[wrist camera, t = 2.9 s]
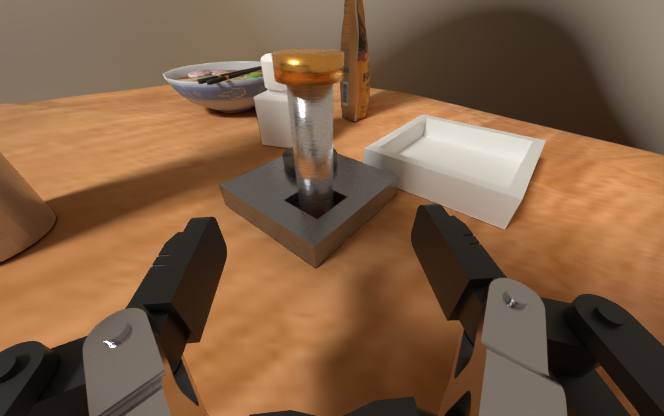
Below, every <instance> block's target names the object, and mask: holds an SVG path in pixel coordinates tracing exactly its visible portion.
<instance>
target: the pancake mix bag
mask: <svg viewBox="0 0 664 416" xmlns="http://www.w3.org/2000/svg"><path fill="white" fill-rule="evenodd" d="M366 37H367V36H366V28H365V18H364V8H363V1H362V0H345V4H344V20H343V27H342V35H341V51H343V52H344V79H343V80H342V81H340V91H341V107H342V117H343V118H345V119H347V120H350V121H355V122H356V120H358V119H363V118H365V116H366V114H367V110H368V104H369V95H370V64H369V52H368V43H367V38H366Z"/></svg>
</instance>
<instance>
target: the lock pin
mask: <svg viewBox="0 0 664 416" xmlns="http://www.w3.org/2000/svg"><path fill="white" fill-rule="evenodd" d="M271 55H272V62H273V70H274V77H275V81H276V82H278V83H280V84H284V85H286V88H287V97H288V107H289V116H290V125H291V134H292V144H293V153H294V162H295V171H296V181H297V190H298V199H299V208H300V210H302V211H303V212H305V213H307V214H309V215H310V216H312V217H314V218H316V219H318V218H320V217H321V216H323V215H324V214H325V213H327V212H328V211H329V210H331V209H332V208H333V84H334V83H338V82H340V81H342V80H343V79H344V52H343V51H341V50H335V49H321V48H303V49H287V50H279V51H275V52H272V53H271Z"/></svg>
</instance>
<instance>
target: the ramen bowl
mask: <svg viewBox="0 0 664 416" xmlns="http://www.w3.org/2000/svg"><path fill="white" fill-rule="evenodd" d="M163 76H164V78H165V79H166V80H167V81H168V82H169V84H170V85H171V86H172V87H173V88H174V89H175V90H176V91H177V92H179V93H180V94H181V95H182V96H183V97H185V98H186V99H187V100H189V101H190V102H192V103H195V104H197V105H199V106H203V107H206V108H210V109H215V110H218V111H220V112H225V113H238V112H244V111H247V110H250V109H252V108H253V107H254V106H255V104H254V96H256V95H258V94H260V93H262V92H265V91H267V90H268V89H267V88H265V85H264V78H263V72H262V66H261V62H257V61H234V62H216V63H205V64H198V65H191V66H184V67H180V68H177V69H172V70H169V71H168V72H166V73H164V74H163Z"/></svg>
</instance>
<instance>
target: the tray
mask: <svg viewBox="0 0 664 416" xmlns="http://www.w3.org/2000/svg"><path fill="white" fill-rule="evenodd" d="M545 141H546V140H541V139H536V138H531V137H527V136H522V135H517V134H513V133H508V132H503V131H498V130H494V129H489V128H484V127H480V126H475V125H470V124H465V123H461V122H456V121H451V120H447V119H442V118H437V117H432V116H428V115H423V114H422V115H420V116H419V117H417V118H415V119H413V120H412V121H410V122H408V123H407V124H405V125H403V126H401V127H400V128H398V129H396V130H395V131H393V132H391V133H390V134H388V135H386V136H384V137H383V138H381V139H379V140H378V141H376V142H374V143H372V144H371V145H369V146H367V147H366V148H364V159H363V163H365V164H367V165H370V166H373V167H376V168H378V169H381V170H384V171H387V172H389V173H392V174H395V175H398V176H399V180H398V186H397V188H399V189H401V190H404V191H406V192H409V193H412V194H414V195H417V196H419V197H422V198H424V199H427V200H429V201H432V202H435V203H437V204H440V205H442V206H445V207H447V208H450V209H452V210H455V211H458V212H460V213H463V214H465V215H468V216H470V217H473V218H475V219H478V220H481V221H483V222H486V223H488V224H491V225H493V226H496V227H498V228H501V229H504V230H505V229H506V227H507V225H508V223H509V222H510V220H511V218H512V216H513V215H514V213H515V211H516V210H517V208H518V206H519V204H520V203H521V201H522V199H523V197H524V194H525V192H526V189H527V186H528V184H529V181H530V179H531V176H532V174H533V171H534V169H535V166H536V164H537V161H538V159H539V156H540V154H541V151H542V149H543V146H544V144H545Z"/></svg>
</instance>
